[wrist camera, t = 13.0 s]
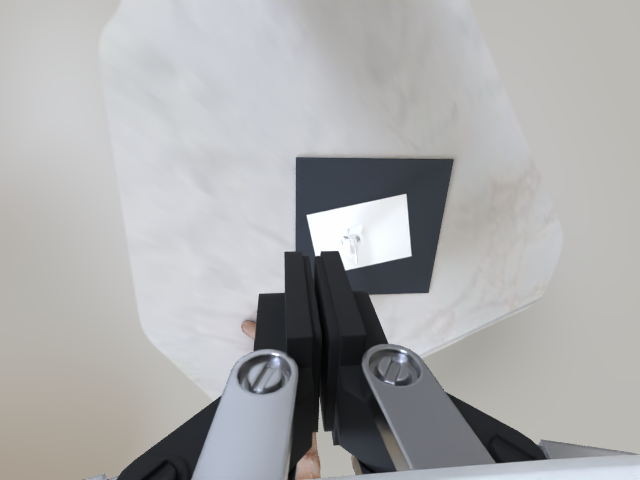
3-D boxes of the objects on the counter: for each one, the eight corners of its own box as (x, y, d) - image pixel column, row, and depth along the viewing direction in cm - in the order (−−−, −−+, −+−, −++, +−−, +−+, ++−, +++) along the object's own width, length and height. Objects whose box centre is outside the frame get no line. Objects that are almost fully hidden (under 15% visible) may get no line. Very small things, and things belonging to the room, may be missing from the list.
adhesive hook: (335, 226, 35) (340, 239, 32) (361, 221, 35) (368, 233, 32) (340, 252, 37) (345, 267, 34) (365, 247, 37) (372, 262, 34)
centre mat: (296, 157, 32) (296, 157, 32) (453, 159, 34) (453, 159, 34) (295, 296, 38) (295, 296, 38) (427, 292, 40) (428, 293, 40)
